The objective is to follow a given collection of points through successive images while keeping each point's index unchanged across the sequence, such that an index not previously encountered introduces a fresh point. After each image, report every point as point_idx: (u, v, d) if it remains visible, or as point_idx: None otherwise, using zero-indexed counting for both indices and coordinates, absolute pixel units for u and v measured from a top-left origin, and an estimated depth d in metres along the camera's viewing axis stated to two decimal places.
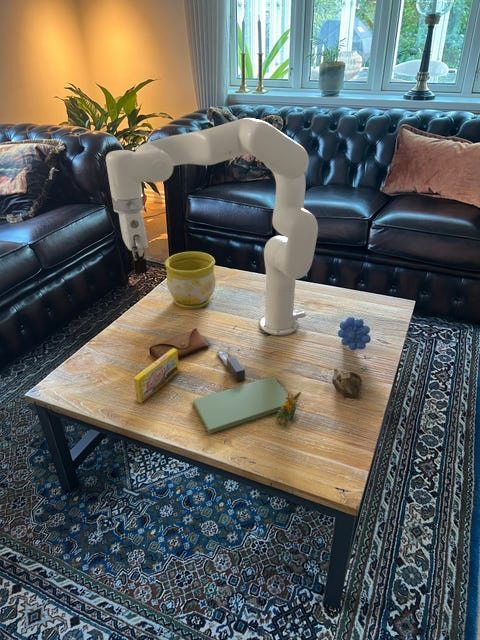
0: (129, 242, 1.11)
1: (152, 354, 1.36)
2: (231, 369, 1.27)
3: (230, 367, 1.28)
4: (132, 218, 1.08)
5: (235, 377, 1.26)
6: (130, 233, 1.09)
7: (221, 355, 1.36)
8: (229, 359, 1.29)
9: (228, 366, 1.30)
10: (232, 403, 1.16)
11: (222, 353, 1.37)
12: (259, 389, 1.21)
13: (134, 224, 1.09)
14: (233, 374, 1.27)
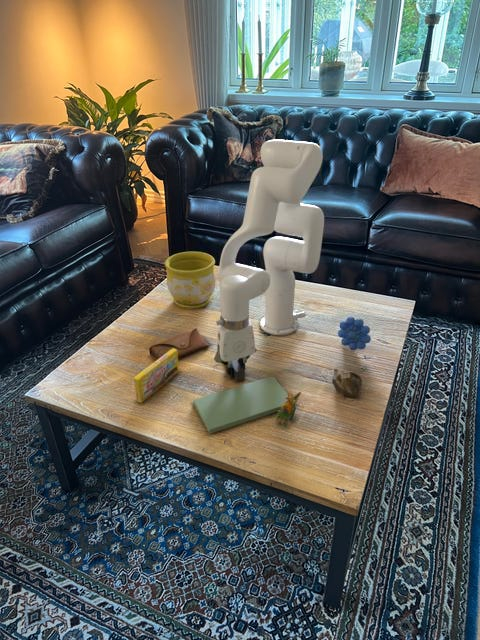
0: None
1: (152, 354, 1.36)
2: None
3: None
4: (219, 331, 1.19)
5: (235, 377, 1.26)
6: (217, 340, 1.22)
7: None
8: None
9: None
10: (232, 403, 1.16)
11: None
12: (259, 389, 1.21)
13: (219, 336, 1.20)
14: None
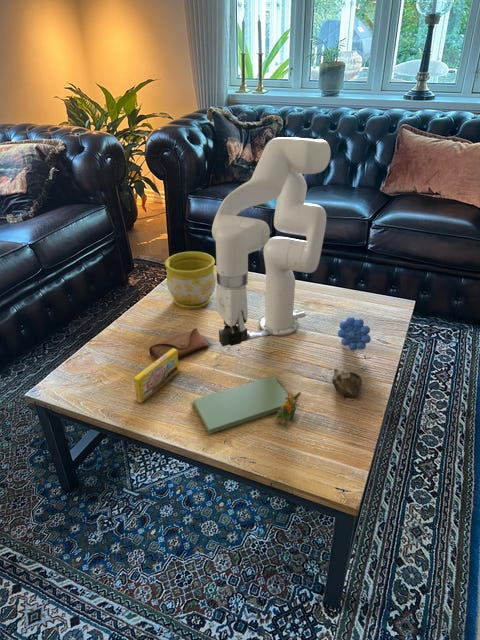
0: None
1: (152, 354, 1.36)
2: None
3: None
4: None
5: None
6: None
7: (265, 330, 1.20)
8: None
9: None
10: (232, 403, 1.16)
11: (269, 331, 1.20)
12: (259, 389, 1.21)
13: None
14: None
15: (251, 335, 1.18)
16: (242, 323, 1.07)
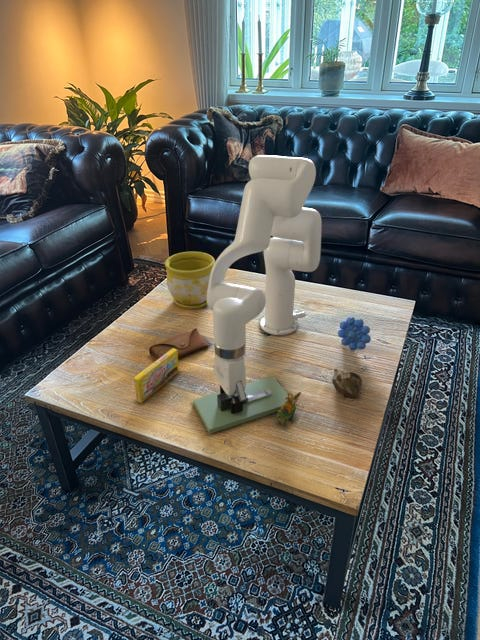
0: None
1: (152, 354, 1.36)
2: None
3: None
4: None
5: None
6: None
7: (263, 391, 1.19)
8: None
9: None
10: None
11: (267, 392, 1.19)
12: (259, 389, 1.21)
13: None
14: None
15: (250, 397, 1.17)
16: (242, 392, 1.06)
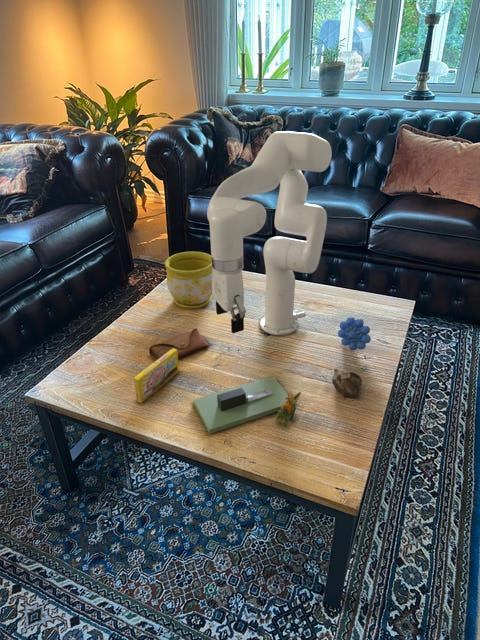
0: None
1: (152, 354, 1.36)
2: None
3: None
4: None
5: None
6: None
7: (263, 391, 1.19)
8: (240, 389, 1.15)
9: None
10: None
11: (267, 392, 1.19)
12: (259, 389, 1.21)
13: None
14: None
15: (250, 397, 1.17)
16: (241, 304, 1.04)
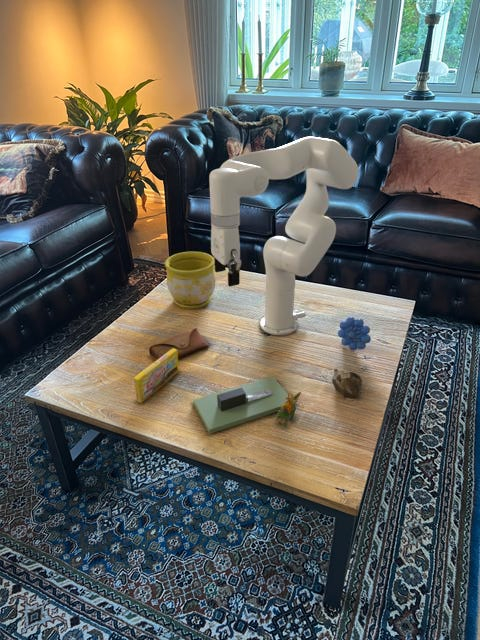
0: None
1: (152, 354, 1.36)
2: None
3: None
4: None
5: None
6: None
7: (263, 391, 1.19)
8: (240, 389, 1.15)
9: None
10: None
11: (267, 392, 1.19)
12: (259, 389, 1.21)
13: None
14: None
15: (250, 397, 1.17)
16: (237, 257, 1.14)
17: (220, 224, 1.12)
